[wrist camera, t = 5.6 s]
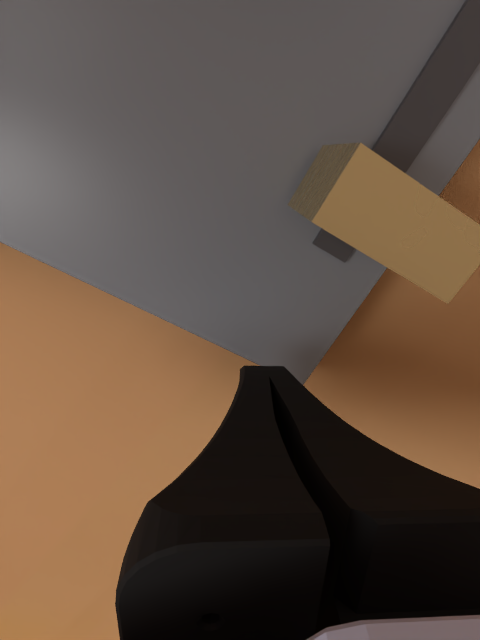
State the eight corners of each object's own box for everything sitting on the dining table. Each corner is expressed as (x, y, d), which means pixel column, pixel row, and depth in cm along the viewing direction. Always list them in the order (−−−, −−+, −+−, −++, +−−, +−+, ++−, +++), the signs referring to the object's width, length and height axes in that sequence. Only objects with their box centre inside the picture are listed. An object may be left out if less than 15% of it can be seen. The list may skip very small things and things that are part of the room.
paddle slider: (287, 205, 11) (311, 221, 8) (322, 145, 11) (361, 142, 8) (395, 269, 12) (447, 304, 9) (432, 218, 12) (500, 238, 9)
